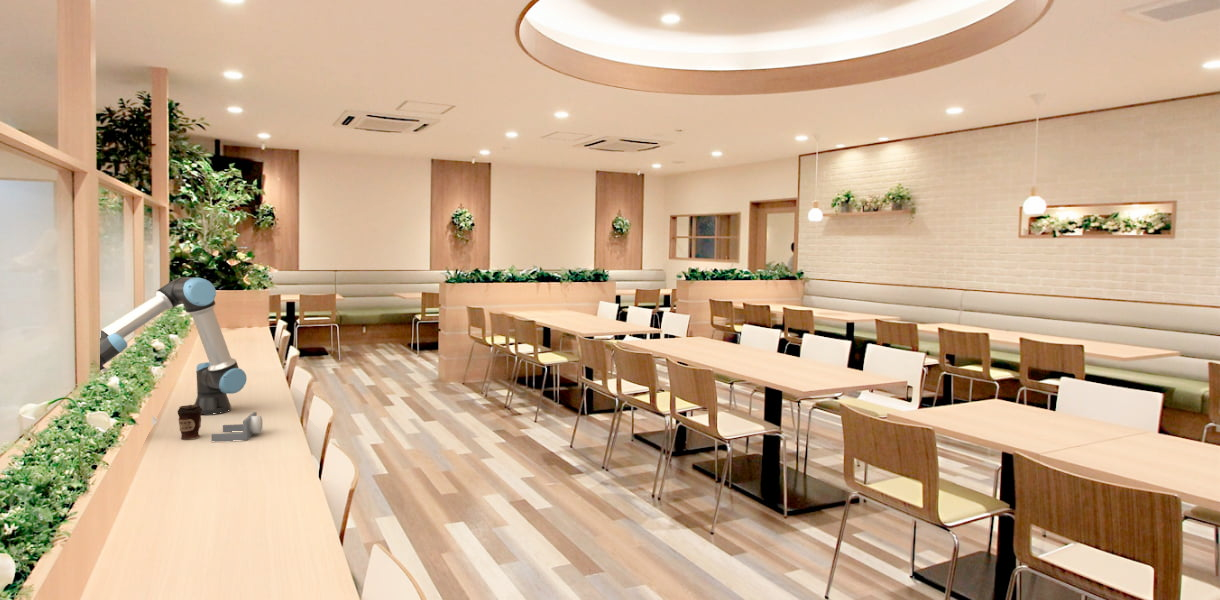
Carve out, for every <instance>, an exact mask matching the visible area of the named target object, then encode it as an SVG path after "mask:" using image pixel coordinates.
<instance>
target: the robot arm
mask: <svg viewBox="0 0 1220 600" xmlns="http://www.w3.org/2000/svg"><path fill="white" fill-rule="evenodd" d="M216 295H217V291H216V287H215V285H214V284H213V283H212V282H211V281H210V280H207V279H205V278H201V277H189V276H181V277H177V278H176V279H173V280H171V281H169V282H168V283H167V284H165V285H163V286H161V287H160V288H159V289H157V290H156V291H155V292H154V295H153V296H150V298H147V299H146V300H145V301H143V302H142V303H140V304H139V305H137V306H136V307H134V308H133V309H130V310H129V311H128V312H127V313H125V314H124V315H122V316H120V317H119V318H117V319H116V320H114V321H113V322H111V323H110V324H108V325H107V326H105V327H103V328H102V329H100V330H101V338H100V370H101V372H102V373H104V372H107V371H108V370H109V369H107V368H106V367H105V366H104V365H105V364H107V363H108V362H110V361H111V360H112V359H113V358H115V357H117V356H119V354H120V353H122V352H123V351H124V350H125V349H127V348H128V343H127V341H126V340H125V337H127V336H128V335H130V334H132V333H133V332H135V331H137V330H138V329H140V328H141V327H142V326H144V325H145V324H147V323H149V322H150V321H151V320H153V319H154V318H156V317H157V316H159V315H160V314H161V313H163V312H164V311H166V310H172V309H174V308H175V307H176V306H180V305H183V307H184V310H185V312H186V313H187V314H189V315H191V318H192V319H193V323H194V325H195V328H196V330H197V333H198V336H199V338H200V341H201V344H202V346H203V348H204V351H205V354H206V358H207V360H208V361H207V362H201V363H198V364H197V366H196V371H195V372H196V391H197V392H196V394H197V396H196V399H195V402H194V405H200V408H202V413H201V414H213V413H220V412H225V411H228V410H230V409H231V410H232V407H231V406H232V405H231V403H230V400H229V398H228V394H229V395H232V394H237V393H238V392H240V391H242V389H243V388H244V387H245V385H246V383H247V380H248V379H247V374H246V372H245V371H244V370H243V369H241V368H240V367H239V365H238V362H237V359H236V358H234V357H232V356H231V355H230V351H229V349H228V346H227V343H226V340H225V337H224V335H223V332H222V329H221V327H220V324H219V322H218V318H217V315H216V313H215V310H214V308H215V306H216V301H215V298H216V297H217V296H216ZM231 410H230V411H231ZM228 412H229V411H228ZM225 413H226V412H225ZM220 414H221V413H220ZM213 415H214V414H213ZM158 422H159V419H157V418H156V417H155V416H153V415H152V426H151V427H153V426H155V425H156V424H157V423H158Z"/></svg>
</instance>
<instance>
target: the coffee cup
mask: <svg viewBox="0 0 1220 600" xmlns="http://www.w3.org/2000/svg"><path fill="white" fill-rule="evenodd" d="M201 413H202V408H200V405H195V404H189V405H180V406H179V408H178V410H177V415H178V426H179V431H180V436H181V437H180V439H181V440H195V439H200V434H199V432H200V428H201V426H202V425H201V424H202V417H201V416H202V415H201Z"/></svg>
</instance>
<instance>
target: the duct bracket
mask: <svg viewBox="0 0 1220 600" xmlns="http://www.w3.org/2000/svg"><path fill="white" fill-rule="evenodd" d="M263 422H264V421H263V417H262V415H258V413H257V411H253V412H252V413H251V414H249V415H248V416H247V417H245V419H244V420H242V424H241V423H240V424H239V423H238V424H236V423H235V424H223V425H222V433H212V434H211V435H210V437H211V438H210V439H211V442H212V441H230V442H234V441H233V440H247V439H248V440H249V439H250V438H251V437H252V436H253V435H254V434H261V433H262V431H263ZM232 431H243V432H232ZM223 432H231V433H223ZM248 440H247V441H248Z"/></svg>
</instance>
